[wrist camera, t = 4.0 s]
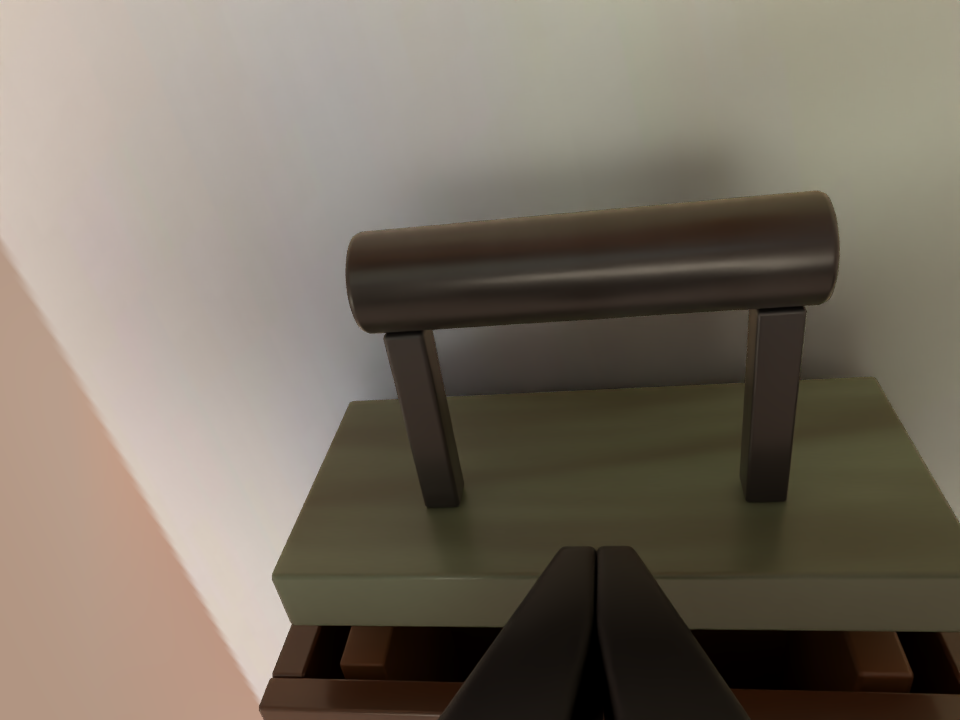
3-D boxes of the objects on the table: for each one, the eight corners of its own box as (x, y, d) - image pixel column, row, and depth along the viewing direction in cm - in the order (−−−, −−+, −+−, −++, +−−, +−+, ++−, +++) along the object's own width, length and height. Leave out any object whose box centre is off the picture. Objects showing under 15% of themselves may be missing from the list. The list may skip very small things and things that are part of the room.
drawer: (284, 177, 13) (151, 307, 9) (921, 109, 11) (1107, 236, 7) (448, 738, 22) (419, 923, 18) (811, 752, 20) (864, 961, 16)
